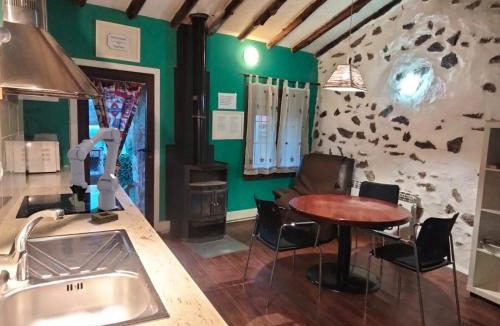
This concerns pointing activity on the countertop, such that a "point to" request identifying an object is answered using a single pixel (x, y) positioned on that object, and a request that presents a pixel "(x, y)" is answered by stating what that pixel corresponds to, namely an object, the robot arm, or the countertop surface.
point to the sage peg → (77, 201)
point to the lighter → (78, 209)
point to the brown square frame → (104, 217)
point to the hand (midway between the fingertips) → (79, 200)
